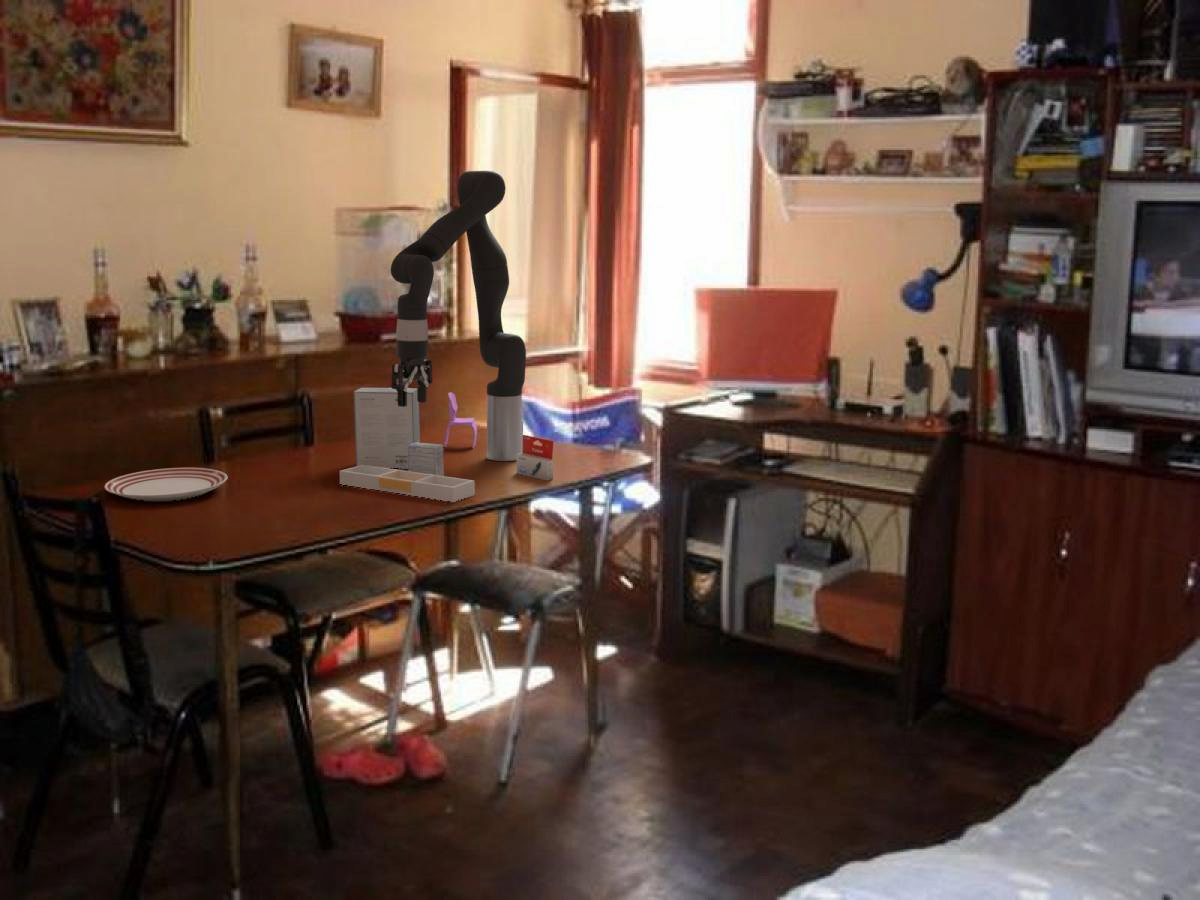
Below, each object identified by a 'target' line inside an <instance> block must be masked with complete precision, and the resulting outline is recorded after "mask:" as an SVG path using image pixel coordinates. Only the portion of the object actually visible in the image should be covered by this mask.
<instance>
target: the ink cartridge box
mask: <svg viewBox="0 0 1200 900" xmlns="http://www.w3.org/2000/svg"><path fill="white" fill-rule="evenodd" d="M537 441H538V442H539V443H540V444H541V445H538V444H534V442H537ZM553 452H554V440H550V439H546V438H541V437H535V436H530V435H526V434H523V453H519V454H516V457H517V460H516V474H517V473H519V474H518V475H521V474H523V475H522V476H525V475H527V477H530V476H531V477H530V478H534V479H538V480H539V479H540V480H544V481H551V480H553V479H554V460H553Z"/></svg>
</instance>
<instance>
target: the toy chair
mask: <svg viewBox="0 0 1200 900" xmlns="http://www.w3.org/2000/svg"><path fill="white" fill-rule="evenodd" d="M447 396H448V399H449V402H448V403H447V404H448V405H447V406H448V410H449V411H448V412H449V418H450V419H449V421H448V425H447V427H446V433H445V439H444V442H443V447H445V448H446V446H447V445H448V440H449V433H450V429H451V426H466V427H471V428H472V430H473V434H474V435H473V442H472V443H473V444H472V446H471V449H472V448H473V449H474V448H475V446H476V443H477V437H478V436H477V435H478V427H477V423H476V420H475V417H469V418H467V417H466V418H462V417H461V418H459V417H456V413H457V412H458V409H459V407H458V403H457V398H456V395H455V394H454V393H453V392H452V391H451V392H448V393H447ZM446 444H447V445H446Z"/></svg>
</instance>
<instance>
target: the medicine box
mask: <svg viewBox="0 0 1200 900" xmlns="http://www.w3.org/2000/svg"><path fill="white" fill-rule="evenodd" d="M443 446H444V444H439V443H438V444H437V443H429V442H427V443H426V442H420V443H413V444H410V445H408V446H407V450H408V469H407V471H411V472H418V473H425V474H432V475H439V476H445V468H444V466H445V463H444V462H445V461H444V448H443Z"/></svg>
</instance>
